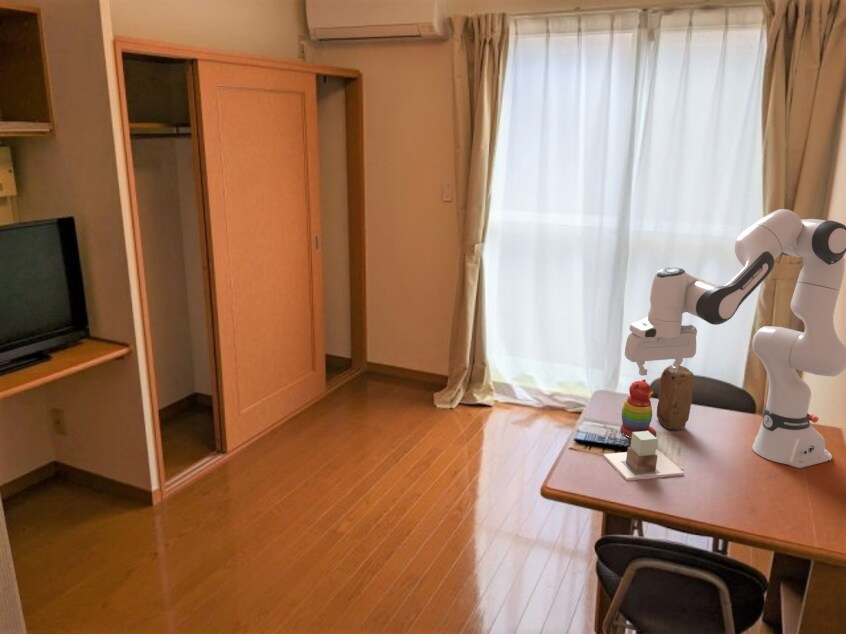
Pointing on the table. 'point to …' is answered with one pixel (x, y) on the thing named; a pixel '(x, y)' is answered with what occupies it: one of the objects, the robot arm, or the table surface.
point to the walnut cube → (641, 461)
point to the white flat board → (662, 470)
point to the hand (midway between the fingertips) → (658, 373)
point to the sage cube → (643, 443)
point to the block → (675, 398)
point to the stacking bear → (637, 409)
